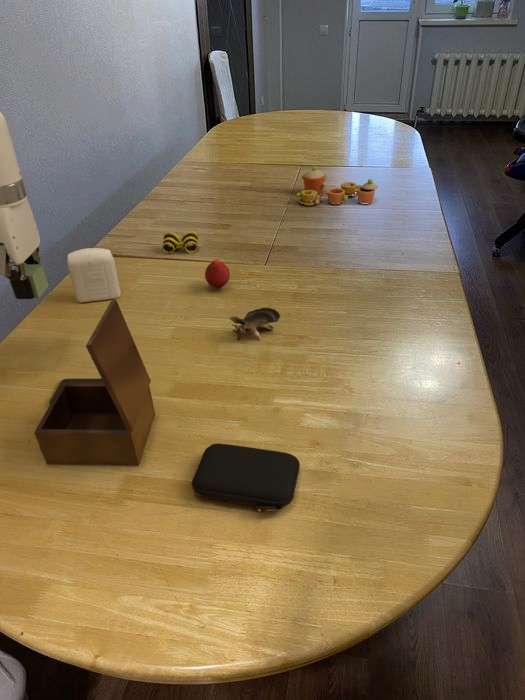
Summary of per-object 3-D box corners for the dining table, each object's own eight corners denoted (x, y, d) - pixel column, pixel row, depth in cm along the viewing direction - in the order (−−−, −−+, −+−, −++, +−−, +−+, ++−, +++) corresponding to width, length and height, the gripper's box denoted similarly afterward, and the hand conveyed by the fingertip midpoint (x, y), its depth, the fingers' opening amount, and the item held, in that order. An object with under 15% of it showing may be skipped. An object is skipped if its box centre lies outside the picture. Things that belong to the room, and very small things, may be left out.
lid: (85, 345, 66) (91, 345, 66) (111, 300, 76) (116, 299, 76) (127, 431, 75) (133, 431, 75) (146, 381, 84) (151, 380, 84)
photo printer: (121, 290, 125) (111, 242, 118) (121, 299, 122) (110, 250, 114) (77, 296, 123) (64, 248, 116) (76, 305, 120) (62, 256, 113)
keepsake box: (46, 464, 80) (33, 432, 76) (72, 413, 89) (62, 382, 85) (139, 465, 79) (131, 433, 75) (155, 414, 89) (149, 383, 85)
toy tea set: (295, 207, 167) (295, 177, 161) (297, 191, 179) (297, 163, 174) (377, 207, 164) (380, 176, 159) (373, 191, 177) (375, 162, 171)
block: (14, 298, 93) (7, 275, 91) (25, 286, 97) (18, 264, 94) (39, 298, 93) (32, 275, 90) (48, 286, 97) (42, 264, 94)
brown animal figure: (253, 348, 101) (287, 325, 105) (235, 317, 100) (270, 294, 103) (238, 350, 108) (270, 327, 112) (221, 320, 107) (254, 299, 110)
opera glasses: (163, 257, 141) (160, 241, 138) (165, 245, 145) (162, 230, 141) (198, 255, 141) (196, 240, 138) (199, 244, 145) (197, 229, 141)
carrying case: (186, 505, 73) (289, 522, 70) (183, 491, 71) (289, 508, 68) (208, 450, 81) (301, 463, 78) (207, 436, 79) (301, 449, 77)
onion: (225, 296, 121) (222, 265, 116) (202, 292, 123) (199, 262, 118) (234, 284, 125) (232, 254, 121) (212, 281, 127) (209, 251, 122)
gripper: (1, 176, 91) (30, 270, 102) (-50, 211, 77) (-10, 315, 88) (43, 176, 91) (67, 270, 101) (-1, 211, 77) (33, 315, 88)
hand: (31, 290), depth 95 cm, fingers closed on block, 4 cm apart
